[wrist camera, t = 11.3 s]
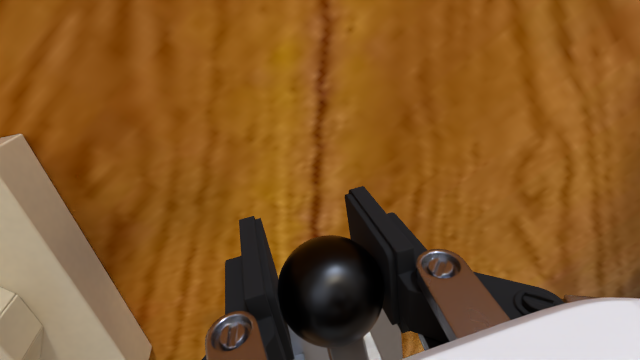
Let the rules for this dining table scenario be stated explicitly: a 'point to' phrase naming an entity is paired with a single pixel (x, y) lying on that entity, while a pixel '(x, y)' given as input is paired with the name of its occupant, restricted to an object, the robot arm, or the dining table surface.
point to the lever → (332, 295)
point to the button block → (54, 275)
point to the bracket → (379, 343)
